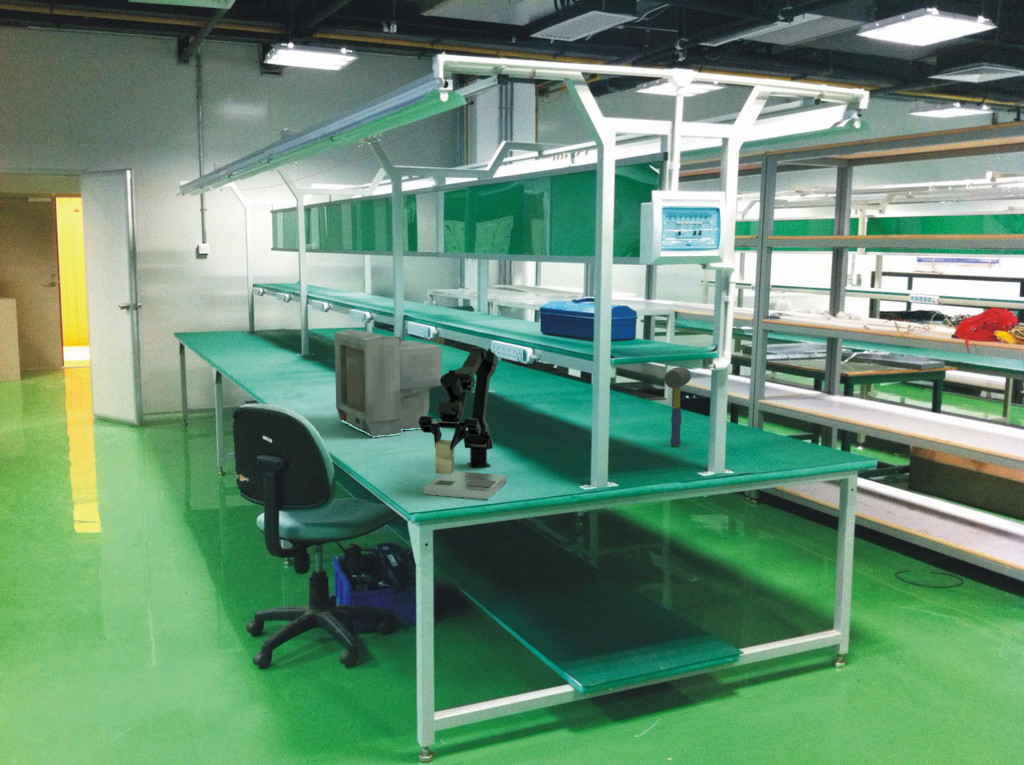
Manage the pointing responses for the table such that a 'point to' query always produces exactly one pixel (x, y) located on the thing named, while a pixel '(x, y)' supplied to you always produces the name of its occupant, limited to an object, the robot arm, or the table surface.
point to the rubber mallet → (676, 399)
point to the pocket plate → (466, 485)
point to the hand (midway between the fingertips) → (443, 448)
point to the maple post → (444, 457)
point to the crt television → (384, 380)
